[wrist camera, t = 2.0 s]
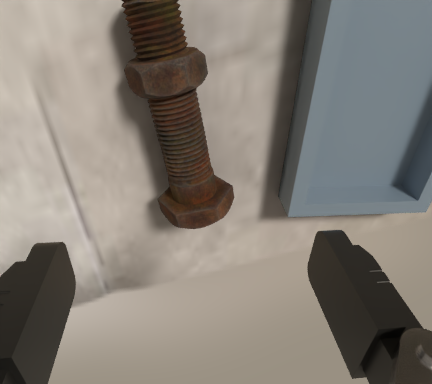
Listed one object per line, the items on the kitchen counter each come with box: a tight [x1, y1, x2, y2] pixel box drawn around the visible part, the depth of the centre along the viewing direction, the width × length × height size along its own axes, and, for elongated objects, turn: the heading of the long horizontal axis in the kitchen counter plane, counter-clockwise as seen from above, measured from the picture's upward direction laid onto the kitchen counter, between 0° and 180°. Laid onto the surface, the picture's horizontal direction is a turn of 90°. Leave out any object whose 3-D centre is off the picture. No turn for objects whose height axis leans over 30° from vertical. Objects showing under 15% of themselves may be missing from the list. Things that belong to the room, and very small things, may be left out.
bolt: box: [122, 0, 234, 229], centre depth 22 cm, size 6×5×15 cm
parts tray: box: [278, 0, 432, 217], centre depth 22 cm, size 12×21×3 cm, turn 178°
